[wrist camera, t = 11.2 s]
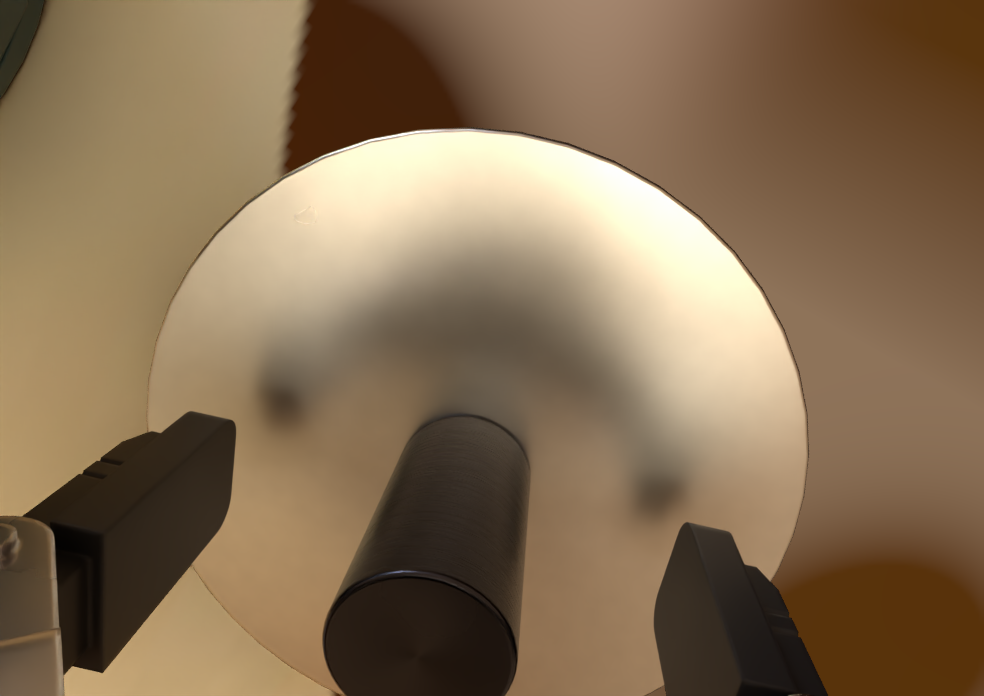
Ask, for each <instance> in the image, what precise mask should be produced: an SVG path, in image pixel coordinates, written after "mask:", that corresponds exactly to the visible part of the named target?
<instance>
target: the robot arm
mask: <svg viewBox="0 0 984 696" xmlns="http://www.w3.org/2000/svg"><path fill="white" fill-rule="evenodd" d="M235 444H236V425H235V422H234V421H233V420H230V419H226V418H221V417H217V416H212V415H208V414H203V413H199V412H194V411H189V412H187V413H185V414H184V415H183V416H181V417H180V418H179V419H178V420H176V421H175V422H174V423H173V424H171V425H170V426H169V427H168V428H166V429H165V430H164V431H163V432H161V433H158V432H154V431H151V432H148V433H145V434H142V435H140V436H137V437H134V438H131V439H129V440H126V441H123V442H121V443H120V444H119V445H117V446H116V447H115V448H113V449H112V450H111V451H109V452H108V453H107V454H105V455H104V456H103V457H101V460H100V461H96V462H95V463H93V464H92V465H91V466H89V467H88V468H86V469H85V470H84V472H83V474H78V475H77V476H76V477H74V478H73V479H72V480H70V481H69V482H68V483H66V484H65V485H64V486H62V487H61V488H60V489H58V490H57V491H56V492H54V493H53V494H52V495H50V496H49V497H48V498H46V499H45V500H44V501H42V502H41V503H40V504H38V505H37V506H36V507H34V508H33V509H32V510H30V511H29V512H28V513H26V514H25V515H23V516H22V517H20V516H0V696H64V678H63V676H64V675H65V673H66V672H67V671H68V670H69V669H70V668H71V667H72V666H74V667H79V668H83V669H87V670H92V671H96V672H100V673H103V672H104V671H105V669H106V668H107V667H108V666H109V665H110V663H111V662H112V661H113V660H114V658H115V657H116V656H117V655H118V654H119V652H120V651H121V650H122V649H123V647H124V646H125V645H126V644H127V643H128V641H129V640H130V639H131V638H132V636H133V635H134V634H135V633H136V632H137V630H138V629H139V628H140V627H141V625H142V624H143V623H144V622H145V621H146V619H147V618H148V617H149V616H150V614H151V613H152V612H153V611H154V610H155V608H156V607H157V606H158V605H159V603H160V602H161V601H162V600H163V599H164V597H165V596H166V595H167V594H168V592H169V591H170V590H171V589H172V587H173V586H174V585H175V584H176V583H177V581H178V580H179V579H180V578H181V576H182V575H183V574H184V573H185V572H186V570H187V569H188V568H189V567H190V565H191V564H192V563H193V562H194V561H195V559H196V558H197V557H198V556H199V554H200V553H201V552H202V551H203V550H204V548H205V547H206V546H207V545H208V543H209V542H210V541H211V540H212V539H213V537H214V536H215V535H216V534H217V532H218V531H219V529H220V528H221V526H222V524H223V522H224V520H225V518H226V515H227V512H228V509H229V505H230V501H231V493H232V481H233V469H234V456H235ZM654 634H655V639H656V644H657V649H658V654H659V660H660V665H661V670H662V675H663V680H664V686H665V691H666V696H828V694H827V692H826V690H825V688H824V686H823V684H822V681H821V679H820V677H819V675H818V673H817V671H816V669H815V667H814V664H813V663H812V660H811V658H810V656H809V654H808V652H807V650H806V648H805V645H804V643H803V642H802V639H801V638H800V637H798V631H797V629H796V626H795V624H794V622H793V620H792V618H789V612H788V609H787V607H786V605H785V603H784V601H783V599H782V597H781V595H780V593H779V590H778V589H777V588H776V587H775V586H774V585H773V584H772V583H771V582H770V581H769V580H768V579H767V577H766V576H765V575H764V574H763V573H762V572H761V571H760V570H759V569H758V568H757V567H754V566H749V565H745V564H744V562H743V560H742V557H741V555H740V553H739V550H738V548H737V546H736V543H735V541H734V538H733V536H732V534H731V533H730V532H729V531H725V530H721V529H716V528H712V527H707V526H703V525H698V524H694V523H689V522H685V523H684V524H683V525H682V527H681V528H680V530H679V533H678V535H677V538H676V541H675V544H674V547H673V550H672V553H671V556H670V559H669V562H668V565H667V568H666V570H665V573H664V576H663V579H662V582H661V585H660V588H659V591H658V594H657V598H656V603H655V609H654Z"/></svg>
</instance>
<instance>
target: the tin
mask: <svg viewBox="0 0 984 696" xmlns="http://www.w3.org/2000/svg"><path fill="white" fill-rule="evenodd" d="M43 4H44V0H0V98H1V97H2V96H3V94H4V93H5V91H6V90H7V88H8V86H9V84H10V83H11V81H12V79H13V78H14V76H15V74H16V73H17V71H18V69H19V68H20V66H21V64H22V62H23V61H24V58H25V56H26V53H27V51H28V48H29V46H30V43H31V41H32V38H33V36H34V33H35V31H36V28H37V26H38V23H39V20H40V16H41V12H42V8H43Z"/></svg>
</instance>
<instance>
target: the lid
mask: <svg viewBox="0 0 984 696" xmlns="http://www.w3.org/2000/svg"><path fill="white" fill-rule="evenodd" d="M189 411H194V412H199V413H203V414H208V415H212V416H217V417H221V418H226V419H230V420H233V421H234V422H235V425H236V444H235V456H234V469H233V481H232V493H231V501H230V505H229V509H228V512H227V515H226V518H225V520H224V522H223V524H222V526H221V528H220V529H219V531H218V532H217V534H216V535H215V536H214V537H213V539H212V540H211V541H210V542H209V543H208V545H207V546H206V547H205V548H204V550H203V551H202V552H201V553H200V554H199V556H198V557H197V558H196V559H195V561H194V562H193V563H192V564H191V565H192V567H193V568H194V570H195V571H196V572H197V574H198V575H199V577H200V578H201V580H202V581H203V583H204V584H205V586H206V587H207V589H208V590H209V591H210V593H211V594H212V595H213V596H214V597H215V598H216V600H217V601H218V602H219V603H220V604H221V605H222V607H223V608H224V609H225V610H226V611H227V613H228V614H229V615H230V616H231V617H232V618H233V619H234V620H235V621H236V622H237V623H238V624H239V625H240V626H241V627H242V628H243V629H244V630H245V631H247V632H248V633H249V634H250V635H251V636H252V637H253V638H254V639H255V640H256V641H257V642H258V643H259V644H261V645H262V646H263V647H265V648H266V649H267V650H269V651H270V652H271V653H272V654H274V655H275V656H276V657H278V658H279V659H280V660H282V661H283V662H284V663H286V664H287V665H288V666H290V667H291V668H293V669H295V670H296V671H298V672H300V673H301V674H303V675H305V676H306V677H308V678H310V679H311V680H313V681H315V682H316V683H318V684H320V685H321V686H323V687H326V688H328V689H330V690H332V691H334V692H336V693H338V694H341V695H343V696H646V695H648V694H650V693H651V692H653V691H655V690H657V689H659V688H661V687H662V686H664V680H663V675H662V670H661V665H660V660H659V654H658V649H657V644H656V639H655V634H654V609H655V603H656V598H657V594H658V591H659V588H660V585H661V582H662V579H663V576H664V573H665V570H666V568H667V565H668V562H669V559H670V556H671V553H672V550H673V547H674V544H675V541H676V538H677V535H678V533H679V530H680V528H681V527H682V525H683V524H684V523H685V522H689V523H694V524H698V525H703V526H707V527H712V528H716V529H721V530H725V531H729V532H730V533H731V534H732V536H733V538H734V541H735V543H736V546H737V548H738V550H739V553H740V555H741V557H742V560H743V562H744V564H745V565H749V566H754V567H757V568H758V569H759V570H760V571H761V572H762V573H763V574H764V575H765V576H766V577H767V579H768V580H769V581H770V582H771V581H772V579H773V578H774V576H775V574H776V573H777V571H778V569H779V567H780V565H781V563H782V560H783V558H784V556H785V553H786V551H787V549H788V546H789V544H790V542H791V539H792V537H793V535H794V532H795V528H796V524H797V520H798V516H799V513H800V509H801V505H802V502H803V498H804V493H805V483H806V474H807V467H808V458H809V445H808V421H807V420H808V419H807V409H806V404H805V399H804V394H803V388H802V383H801V378H800V373H799V369H798V367H797V364H796V361H795V358H794V355H793V352H792V350H791V347H790V344H789V341H788V338H787V336H786V333H785V330H784V328H783V326H782V324H781V322H780V320H779V319H778V317H777V315H776V313H775V311H774V309H773V307H772V306H771V304H770V302H769V300H768V298H767V296H766V294H765V292H764V291H763V289H762V287H761V286H760V285H759V284H758V282H757V281H756V279H755V278H754V277H753V275H752V274H751V273H750V271H749V270H748V269H747V267H746V266H745V265H744V263H743V262H742V260H741V259H740V258H739V256H738V255H737V254H736V252H735V251H734V250H733V249H732V248H731V247H729V245H728V244H727V243H726V242H725V241H724V240H723V239H722V238H721V237H720V236H719V235H718V234H717V233H716V232H715V231H714V230H713V229H712V228H711V227H710V226H709V225H708V224H707V223H706V222H705V221H704V220H703V219H702V218H701V217H700V216H699V215H697V214H696V213H695V212H693V211H692V210H691V209H689V208H688V207H687V206H685V205H684V204H683V203H681V202H680V201H679V200H677V199H676V198H675V197H673V196H672V195H671V194H669V193H668V192H667V191H665V190H664V189H663V188H661V187H660V186H659V185H657V184H655V183H653V182H651V181H650V180H648V179H646V178H644V177H642V176H641V175H639V174H637V173H635V172H634V171H632V170H630V169H628V168H626V167H625V166H623V165H621V164H619V163H617V162H615V161H614V160H611V159H608V158H606V157H603V156H600V155H598V154H595V153H593V152H590V151H587V150H585V149H582V148H580V147H577V146H575V145H572V144H569V143H566V142H562V141H557V140H553V139H548V138H544V137H540V136H536V135H532V134H527V133H523V132H517V131H506V130H494V129H484V128H474V127H467V128H445V129H424V130H415V131H410V132H404V133H399V134H394V135H388V136H383V137H378V138H373V139H369V140H365V141H362V142H360V143H357V144H354V145H351V146H348V147H345V148H342V149H339V150H336V151H333V152H331V153H327V154H324V155H323V156H321V157H319V158H317V159H315V160H313V161H311V162H309V163H307V164H305V165H303V166H301V167H299V168H297V169H295V170H293V171H291V172H289V173H287V174H285V175H283V176H282V177H281V178H279V179H278V180H276V181H275V182H274V183H272V184H271V185H269V186H268V187H267V188H265V189H264V190H262V191H261V192H260V193H258V194H257V195H255V196H254V197H253V198H251V199H250V200H248V201H247V202H246V203H245V204H244V205H243V206H242V207H241V208H240V209H239V210H238V211H237V212H235V213H234V214H233V215H232V216H231V217H230V218H229V219H228V220H227V221H226V222H225V223H224V224H223V225H222V226H221V227H220V228H219V229H218V230H217V231H216V232H215V233H214V234H213V236H212V237H211V238H210V240H209V241H208V242H207V244H206V245H205V246H204V248H203V249H202V250H201V252H200V253H199V254H198V256H197V257H196V258H195V259H194V261H193V262H192V263H191V265H190V266H189V268H188V270H187V272H186V274H185V275H184V277H183V279H182V281H181V283H180V285H179V286H178V288H177V290H176V292H175V294H174V296H173V298H172V299H171V301H170V304H169V307H168V309H167V312H166V315H165V318H164V320H163V323H162V326H161V329H160V331H159V334H158V337H157V340H156V344H155V349H154V354H153V359H152V364H151V369H150V374H149V380H148V398H147V416H146V417H147V429H148V432H151V431H154V432H158V433H161V432H163V431H164V430H165V429H166V428H168V427H169V426H170V425H171V424H173V423H174V422H175V421H176V420H178V419H179V418H180V417H181V416H183V415H184V414H185V413H187V412H189Z"/></svg>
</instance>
